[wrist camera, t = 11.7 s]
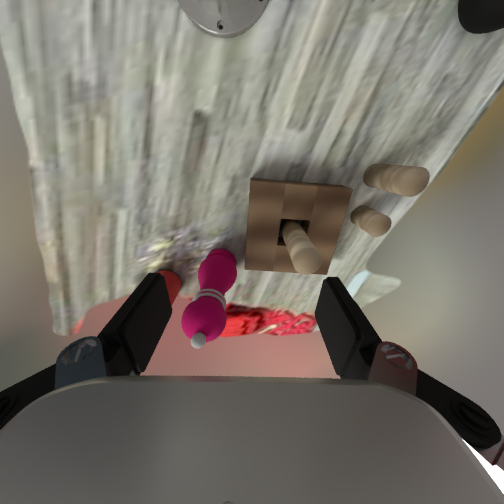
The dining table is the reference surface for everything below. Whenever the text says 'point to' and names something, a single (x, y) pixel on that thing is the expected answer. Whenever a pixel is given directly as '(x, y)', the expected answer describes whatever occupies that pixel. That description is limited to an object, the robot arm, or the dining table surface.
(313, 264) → the long pin
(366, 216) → the short pin
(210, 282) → the pepper mill
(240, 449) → the robot arm
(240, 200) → the dining table surface
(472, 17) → the cola bottle
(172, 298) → the beer can
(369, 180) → the medium pin
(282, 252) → the hole block
